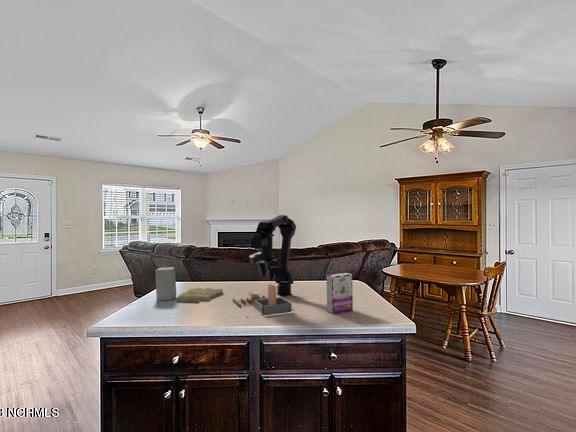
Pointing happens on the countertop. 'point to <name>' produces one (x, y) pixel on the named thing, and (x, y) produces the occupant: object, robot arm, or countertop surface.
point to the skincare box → (165, 283)
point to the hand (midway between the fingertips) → (267, 278)
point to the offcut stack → (254, 296)
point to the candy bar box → (339, 293)
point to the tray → (272, 306)
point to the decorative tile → (199, 295)
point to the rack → (245, 302)
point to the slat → (271, 295)
